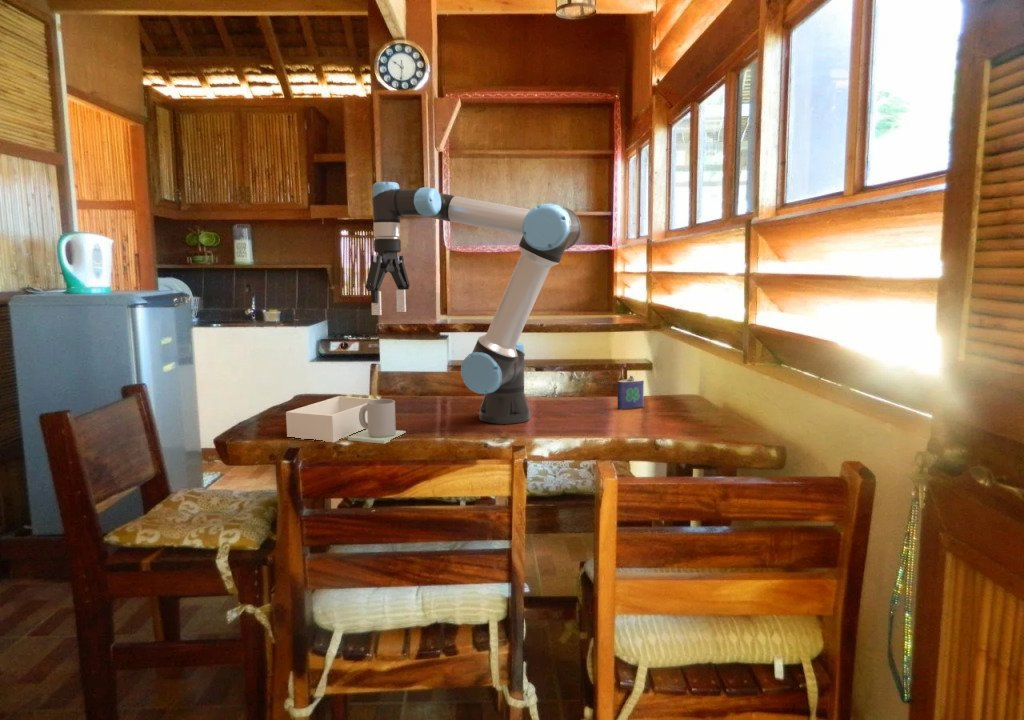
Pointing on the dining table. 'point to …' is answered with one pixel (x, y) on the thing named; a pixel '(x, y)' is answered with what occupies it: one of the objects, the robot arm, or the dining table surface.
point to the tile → (365, 437)
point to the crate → (327, 419)
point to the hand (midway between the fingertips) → (389, 313)
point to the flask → (630, 393)
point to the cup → (379, 418)
